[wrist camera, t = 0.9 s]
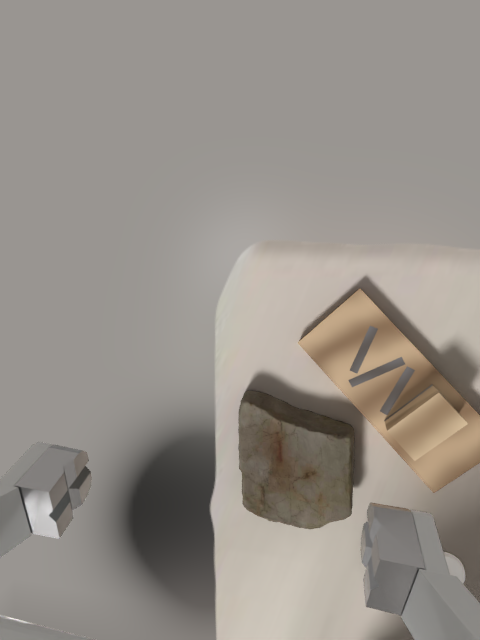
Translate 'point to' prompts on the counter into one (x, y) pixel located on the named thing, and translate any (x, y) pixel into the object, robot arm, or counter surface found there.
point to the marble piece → (294, 463)
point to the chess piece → (455, 566)
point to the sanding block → (424, 422)
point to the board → (390, 382)
